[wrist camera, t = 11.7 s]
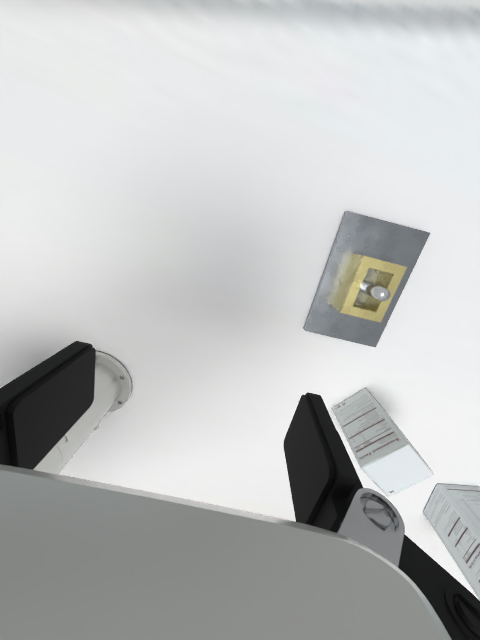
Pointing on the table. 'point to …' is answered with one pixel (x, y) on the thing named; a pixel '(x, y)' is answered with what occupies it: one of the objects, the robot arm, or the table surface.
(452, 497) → the supplement box
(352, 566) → the robot arm
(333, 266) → the keeper plate
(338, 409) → the supplement box
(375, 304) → the hollow rectangular wooden block
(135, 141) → the table surface
